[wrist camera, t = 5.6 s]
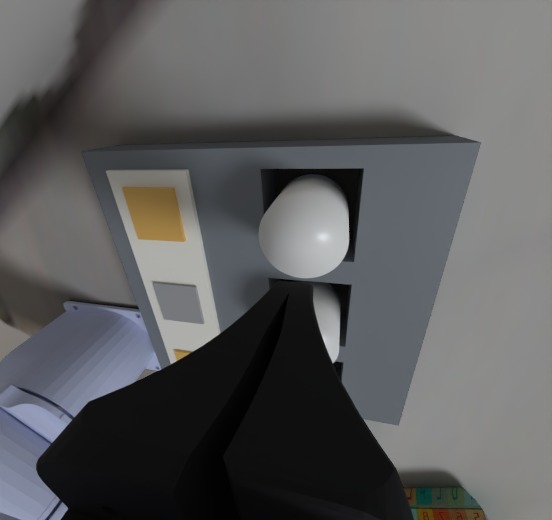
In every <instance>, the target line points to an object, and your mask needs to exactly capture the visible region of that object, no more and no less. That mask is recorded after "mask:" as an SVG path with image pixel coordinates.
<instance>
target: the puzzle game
mask: <svg viewBox="0 0 552 520" xmlns="http://www.w3.org/2000/svg"><path fill="white" fill-rule="evenodd" d="M404 491H405V493H406V496H407V499H408V502H409V505H410V508H411V511H412V514H413V518H414V520H488V518H487V516H486V515H485V513H484V511H483V509H482V508H481V507H480V505H479V504H478V503H477V501H476V500H475V499H474V498H473V497H472V496H471V495H470V494H469V493H468V492H467V491H466V490H465V489H464V488H462V487H455V488H404Z"/></svg>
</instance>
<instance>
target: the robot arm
mask: <svg viewBox="0 0 552 520" xmlns="http://www.w3.org/2000/svg"><path fill="white" fill-rule="evenodd" d="M313 288H314V287H313V286H312V285H311V284H308V283H297V282H287V281H278V282H276V283H275V284H274V285H273V286H272V287H271V288H270V289H269V290H268V292H267V293H266V294H265V295H264V296H263V297H262V298H261V299H260V300H259V301H258V302H256V303H255V304H254V305H253V306H252V307H251V308H250V309H249V310H248V311H247V312H246V313H245V314H243V315H242V316H241V317H240V318H239V319H238V320H236V321H235V322H234V323H233V324H232V325H230V326H229V327H228V328H227V329H225V330H224V331H223V332H221V333H220V334H219V335H217V336H216V337H215V338H213V339H212V340H210V341H209V342H207V343H206V344H204V345H203V346H201V347H200V348H198V349H196V350H195V351H193V352H191V353H190V354H188V355H186V356H185V357H183V358H181V359H180V360H178V361H176V362H174V363H173V364H171V365H169V366H167V367H165V368H163V369H161V367H160V364H159V362H158V359H157V356H156V354H155V351H154V348H153V345H152V343H151V340H150V337H149V335H148V332H147V329H146V326H145V324H144V321H143V318H142V316H141V313H140V310H139V309H131V308H123V307H115V306H107V305H98V304H90V303H82V302H74V301H66V302H65V303H63V306H64V308H65V310H66V312H64V313H63V314H62V315H60V316H59V317H58V318H56V319H55V320H53V321H52V322H51V323H49V324H48V325H47V326H45V327H44V328H43V329H41V330H40V331H38V332H37V333H36V334H34V335H33V336H32V337H30V338H29V339H28V340H26V341H25V342H24V343H22V344H21V345H19V346H18V347H17V348H15V349H14V350H13V351H11V352H10V353H9V354H8V355H7V356H5V358H4V359H2V361H1V362H0V520H414V518H413V514H412V511H411V508H410V505H409V502H408V499H407V496H406V493H405V491H404V488H403V485H402V483H401V480H400V477H399V475H398V472H397V470H396V468H395V466H394V465H393V463H392V462H391V461H390V459H389V458H388V456H387V455H386V453H385V452H384V451H383V449H382V448H381V446H380V445H379V443H378V442H377V440H376V439H375V437H374V436H373V434H372V433H371V431H370V430H369V428H368V426H367V425H366V423H365V422H364V420H363V418H362V417H361V415H360V413H359V412H358V410H357V409H356V407H355V405H354V403H353V401H352V400H351V398H350V396H349V394H348V392H347V391H346V389H345V387H344V385H343V383H342V382H341V380H340V378H339V375H338V373H337V371H336V369H335V367H334V365H333V363H332V360H331V358H330V356H329V354H328V351H327V349H326V346H325V343H324V341H323V338H322V335H321V332H320V329H319V325H318V322H317V318H316V314H315V309H314V303H313ZM144 369H151V370H157V372H155V373H153V374H151V375H149V376H147V377H145V378H143V379H141V380H139V381H136V380H137V378H138V377H139V376H140V374H141V373H142V372H143V371H144ZM135 381H136V382H135Z"/></svg>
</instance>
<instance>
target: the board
mask: <svg viewBox="0 0 552 520" xmlns="http://www.w3.org/2000/svg"><path fill="white" fill-rule="evenodd" d="M480 144H481V142H477V141H474V140H470V139H467V138H463V137H459V136H425V137H390V138H355V139H320V140H284V141H249V142H214V143H179V144H143V145H117V146H111V147H106V148H100V149H94V150H88V151H83V152H82V155H83V158H84V161H85V163H86V166H87V169H88V172H89V174H90V177H91V180H92V182H93V185H94V188H95V191H96V193H97V196H98V199H99V201H100V204H101V207H102V210H103V212H104V215H105V218H106V220H107V223H108V226H109V229H110V231H111V234H112V237H113V239H114V242H115V245H116V248H117V250H118V253H119V256H120V258H121V261H122V264H123V267H124V269H125V272H126V275H127V278H128V280H129V283H130V286H131V288H132V291H133V294H134V297H135V299H136V302H137V305H138V307H139V310H140V313H141V316H142V318H143V321H144V324H145V326H146V329H147V332H148V335H149V337H150V340H151V343H152V345H153V348H154V351H155V354H156V356H157V359H158V362H159V364H160V367H161V369H163V368H165V367H167V366H169V365H171V364H173V363H174V362H176V361H178V360H180V359H181V358H183V357H185V356H186V355H188V354H190V353H191V352H193V351H195V350H196V349H198V348H200V347H201V346H203V345H204V344H206V343H207V342H209V341H210V340H212V339H213V338H215V337H216V336H217V335H219V334H220V333H221V332H223V331H224V330H225V329H227V328H228V327H229V326H230V325H232V324H233V323H234V322H235V321H236V320H238V319H239V318H240V317H241V316H242V315H243V314H245V313H246V312H247V311H248V310H249V309H250V308H251V307H252V306H253V305H254V304H255V303H256V302H258V301H259V300H260V299H261V298H262V297H263V296H264V295H265V294H266V293H267V292H268V290H269V289H270V288H271V287H272V286H273V285H274V284H275V283H276V282H278V281H280V279H289V280H301V281H313V282H325V283H337V284H349V287H348V297H347V307H346V317H340V337H339V354H338V357H337V359H336V361H337V362H341V368H340V375H339V374H338V375H339V378H340V380H341V382H342V383H343V385H344V387H345V389H346V391H347V392H348V394H349V396H350V398H351V400H352V401H353V403H354V405H355V407H356V409H357V410H358V412H359V413H360V415H361V417H362V418H363V419H366V420H371V421H377V422H382V423H388V424H393V425H399V422H400V418H401V415H402V412H403V408H404V405H405V401H406V398H407V394H408V391H409V388H410V384H411V381H412V377H413V374H414V370H415V367H416V364H417V360H418V357H419V353H420V350H421V346H422V343H423V340H424V336H425V333H426V329H427V326H428V322H429V319H430V316H431V312H432V309H433V305H434V302H435V298H436V295H437V292H438V288H439V285H440V281H441V278H442V275H443V271H444V268H445V264H446V261H447V257H448V254H449V251H450V247H451V244H452V240H453V237H454V233H455V230H456V227H457V223H458V220H459V216H460V213H461V209H462V206H463V203H464V199H465V196H466V192H467V189H468V185H469V182H470V179H471V175H472V172H473V168H474V165H475V162H476V158H477V155H478V151H479V148H480ZM346 168H360V175H359V185H358V195H357V205H356V215H355V225H354V236H353V239H349V245H348V249H347V253H346V255H345V257H344V259H343V260H342V261H341V263H340V264H339V265H338V266H337V267H336V268H335V269H334V270H332V271H330V272H329V273H327V274H325V275H322V276H319V277H315V278H297V277H293V276H290V275H287V274H285V273H283V272H281V271H279V270H278V269H276V268H275V267H274V266H273V265H272V264H271V263H270V262H269V261H268V260H267V259H266V257H265V255H264V254H263V252H262V250H261V247H260V244H259V235H258V232H259V226H260V222H261V220H262V217H263V216H264V214H265V213H266V211H267V210H268V209H269V207H270V206H271V205H272V203H273V202H274V201H275V199H276V193H275V172H274V169H346Z"/></svg>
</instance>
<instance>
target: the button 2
mask: <svg viewBox="0 0 552 520" xmlns="http://www.w3.org/2000/svg"><path fill="white" fill-rule="evenodd" d="M258 235H259V244H260V247H261V250H262V252H263V254H264V255H265V257H266V259H267V260H268V261H269V262H270V263H271V264H272V265H273V266H274V267H275V268H276V269H278V270H279V271H281V272H283V273H285V274H287V275H290V276H293V277H297V278H315V277H319V276H322V275H325V274H327V273H329V272H330V271H332V270H334V269H335V268H336V267H337V266H338V265H339V264H340V263H341V261H342V260H343V259H344V257H345V255H346V253H347V249H348V245H349V207H348V201H347V197H346V195H345V193H344V191H343V189H342V188H341V187H340V186H339V185H338V184H337V183H336V182H335V181H333V180H332V179H330V178H328V177H326V176H323V175H318V174H307V175H302V176H299V177H297V178H295V179H293V180H292V181H291V182H289V183H288V184H287V185H286V186H285V188H284V189H283V190H282V191H281V193H280V194H279V195H278V197H277V198H276V199H275V201H274V202H273V203H272V205H271V206H270V207H269V209H268V210H267V211H266V213H265V214H264V216H263V217H262V220H261V222H260V226H259V232H258Z"/></svg>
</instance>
